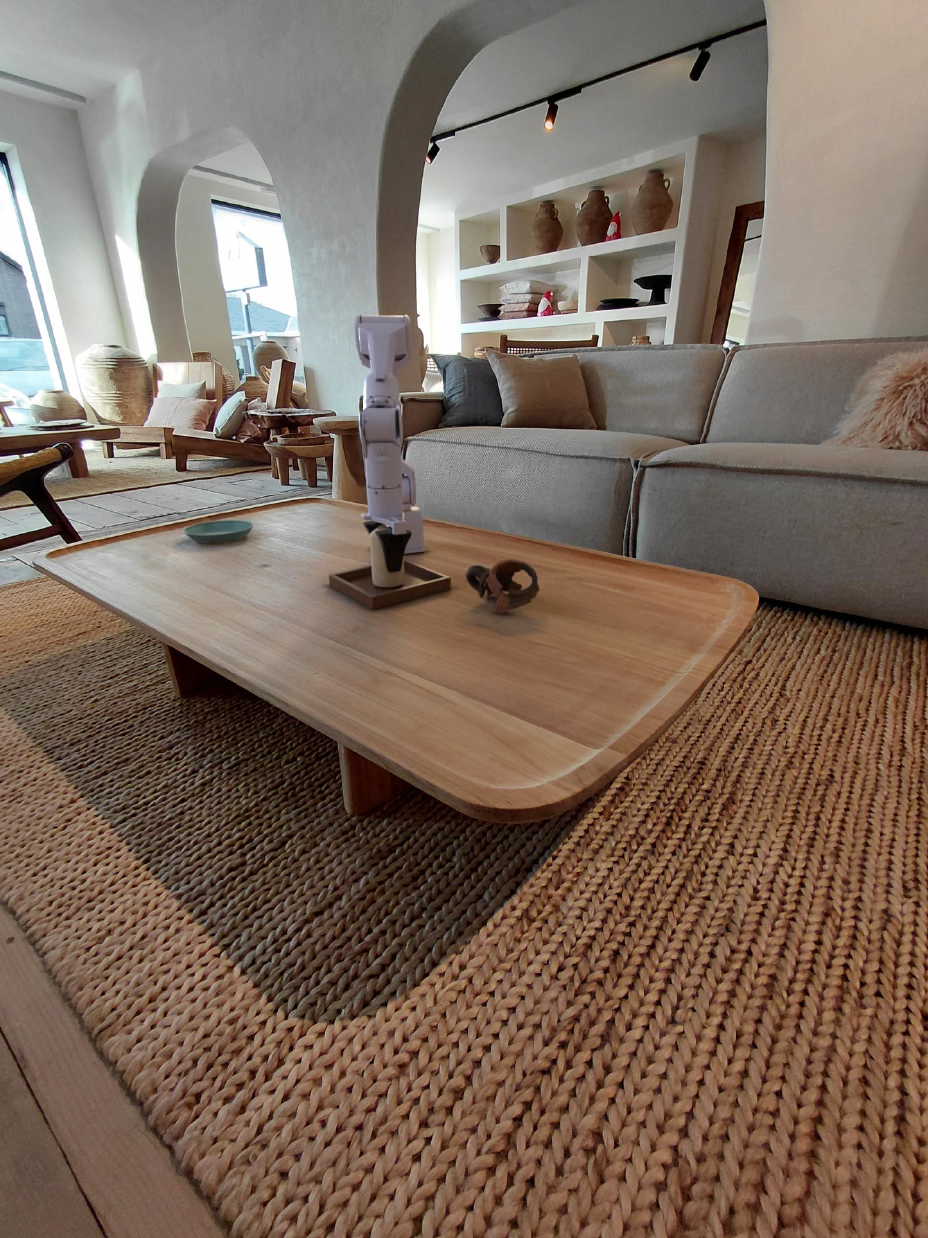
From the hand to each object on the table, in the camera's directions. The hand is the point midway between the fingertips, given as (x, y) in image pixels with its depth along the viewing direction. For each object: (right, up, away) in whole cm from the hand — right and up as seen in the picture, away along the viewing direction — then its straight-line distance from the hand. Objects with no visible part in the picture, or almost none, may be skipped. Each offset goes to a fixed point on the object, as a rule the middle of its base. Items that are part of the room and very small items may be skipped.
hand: (388, 566), depth 99 cm
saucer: (-43, +9, +32) cm, 54 cm away
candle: (0, -3, +1) cm, 3 cm away
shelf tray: (0, -4, +1) cm, 4 cm away
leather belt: (+19, -7, -6) cm, 21 cm away
